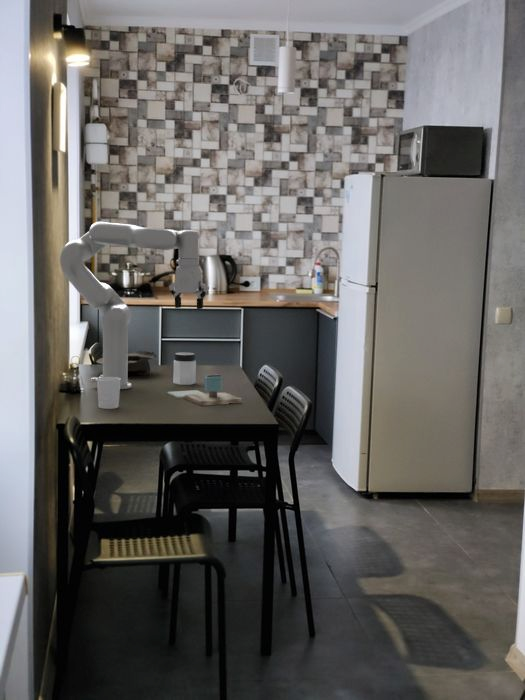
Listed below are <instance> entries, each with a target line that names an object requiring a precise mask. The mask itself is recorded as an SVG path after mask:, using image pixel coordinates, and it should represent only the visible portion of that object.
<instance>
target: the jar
mask: <svg viewBox="0 0 525 700" xmlns="http://www.w3.org/2000/svg"><path fill="white" fill-rule="evenodd" d="M172 370H173V377H172V378H173V379H172V381H173V384H175V385H179V386H191V385H195V384H196V382H197V381H196V380H197V360H196V354H195V353H194V352H189V351H188V352H186V351H184V352H183V351H181V352H176V353H174V360H173V369H172Z"/></svg>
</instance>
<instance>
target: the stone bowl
mask: <svg viewBox="0 0 525 700" xmlns="http://www.w3.org/2000/svg"><path fill="white" fill-rule="evenodd" d="M157 357H158V356H157V355H156V353H155V352H154V351H153V352H149V351H144V350H143V351H142V350H139V351H136V350H135V351H134V352H130V353H128V372H130V371H132V372H131V373H134V374H136V375H140V376H147V375H149V373H150V372H151V364H150V362H149V360H153V359H156V358H157ZM96 363H98V364H101V365H103V357H101V358H99V359H97V360H96Z"/></svg>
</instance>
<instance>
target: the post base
mask: <svg viewBox="0 0 525 700" xmlns="http://www.w3.org/2000/svg"><path fill="white" fill-rule="evenodd" d="M203 393H204V394H188V395H185V398H184V400H187V401H189V402H192V403H194V404H196V405H198V406H201V407H203V406H216V405H229V403H233V404H242V402H243V401H242V398H241V397H239V396H238V397H237V396H235V395H234V394H231V393H228V392H225V391H224V392H221V391H220V392H218V391H208V393H206V392H203Z"/></svg>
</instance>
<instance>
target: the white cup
mask: <svg viewBox="0 0 525 700" xmlns="http://www.w3.org/2000/svg"><path fill="white" fill-rule="evenodd" d="M98 377H99V378H98ZM98 377H96V378H97V383H96V384H97V385H96V386H97V387H96V389H97V399H98V402H97V403H98V408H99V409H103V410H104V409H105V410H112V409H117V408H119V407H120V406H119V404H120V394H121V393H120V391H121V389H120V378H118V377H100V376H98Z"/></svg>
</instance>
